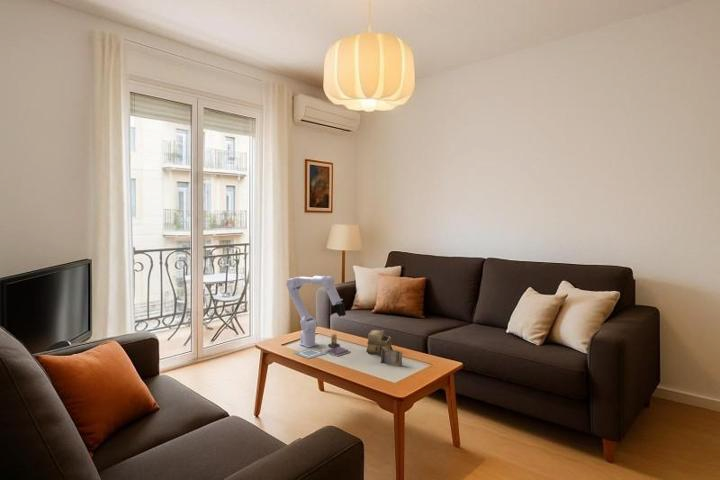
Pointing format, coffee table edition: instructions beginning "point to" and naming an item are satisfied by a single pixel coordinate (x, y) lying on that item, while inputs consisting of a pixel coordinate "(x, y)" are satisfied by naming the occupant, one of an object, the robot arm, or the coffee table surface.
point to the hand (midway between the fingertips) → (342, 315)
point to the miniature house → (378, 342)
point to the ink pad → (337, 351)
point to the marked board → (309, 353)
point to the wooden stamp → (334, 341)
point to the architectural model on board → (391, 357)
